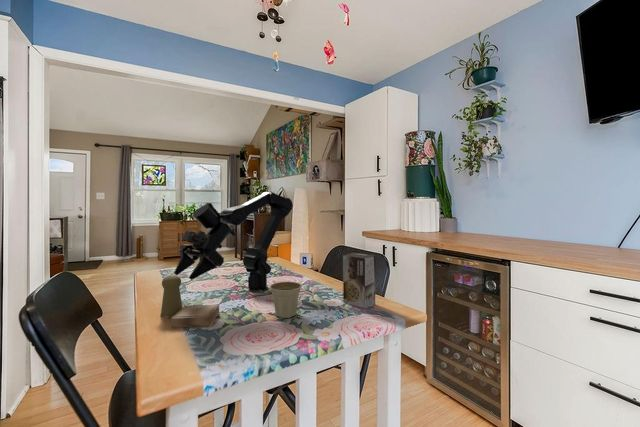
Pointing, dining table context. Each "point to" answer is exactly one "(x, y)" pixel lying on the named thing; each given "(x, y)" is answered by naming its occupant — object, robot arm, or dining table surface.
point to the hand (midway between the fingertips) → (182, 276)
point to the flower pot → (285, 298)
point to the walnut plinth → (195, 316)
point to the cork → (171, 296)
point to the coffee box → (359, 279)
